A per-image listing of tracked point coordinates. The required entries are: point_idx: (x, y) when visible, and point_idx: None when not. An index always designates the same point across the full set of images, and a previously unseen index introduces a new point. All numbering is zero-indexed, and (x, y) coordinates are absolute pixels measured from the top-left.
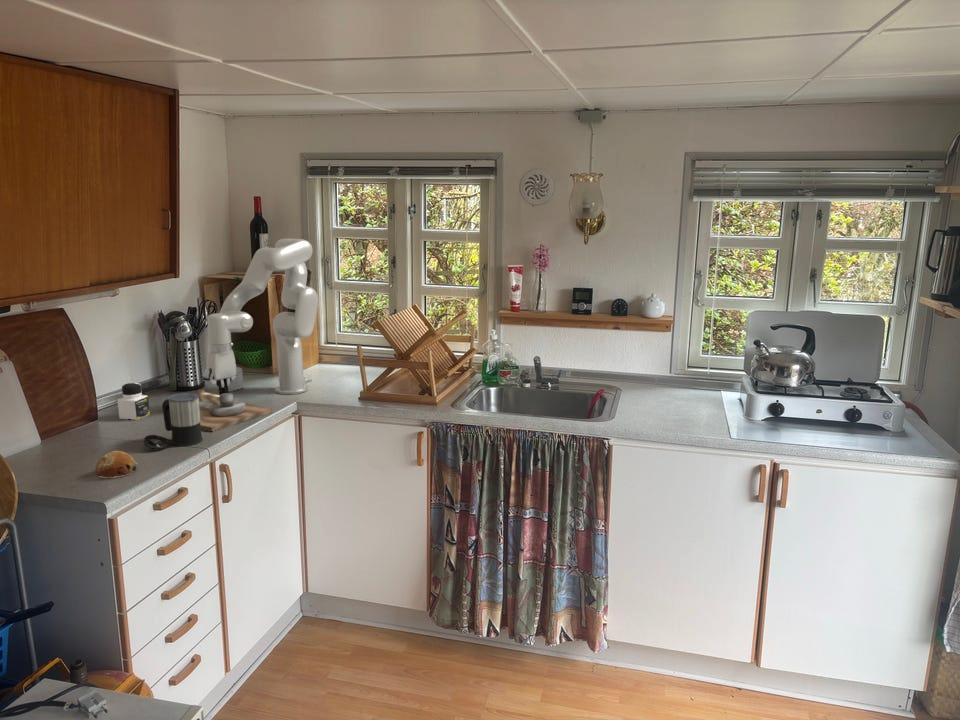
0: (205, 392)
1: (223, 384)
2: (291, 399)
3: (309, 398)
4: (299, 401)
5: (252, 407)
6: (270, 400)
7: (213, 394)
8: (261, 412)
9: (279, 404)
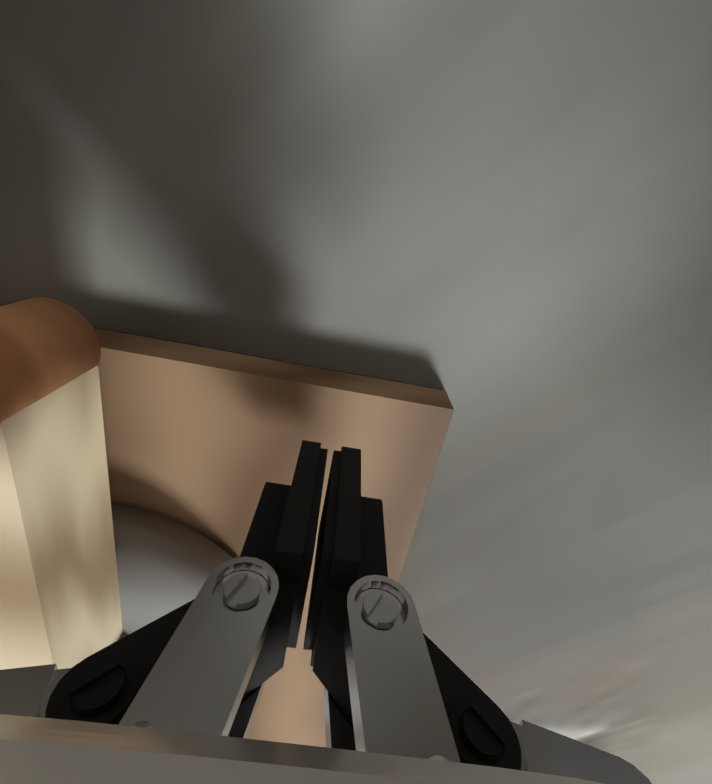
0: (2, 440)
1: (238, 708)
2: (661, 694)
3: (691, 752)
4: (613, 739)
5: (312, 677)
6: (624, 608)
7: (20, 605)
8: (259, 739)
9: (523, 690)
